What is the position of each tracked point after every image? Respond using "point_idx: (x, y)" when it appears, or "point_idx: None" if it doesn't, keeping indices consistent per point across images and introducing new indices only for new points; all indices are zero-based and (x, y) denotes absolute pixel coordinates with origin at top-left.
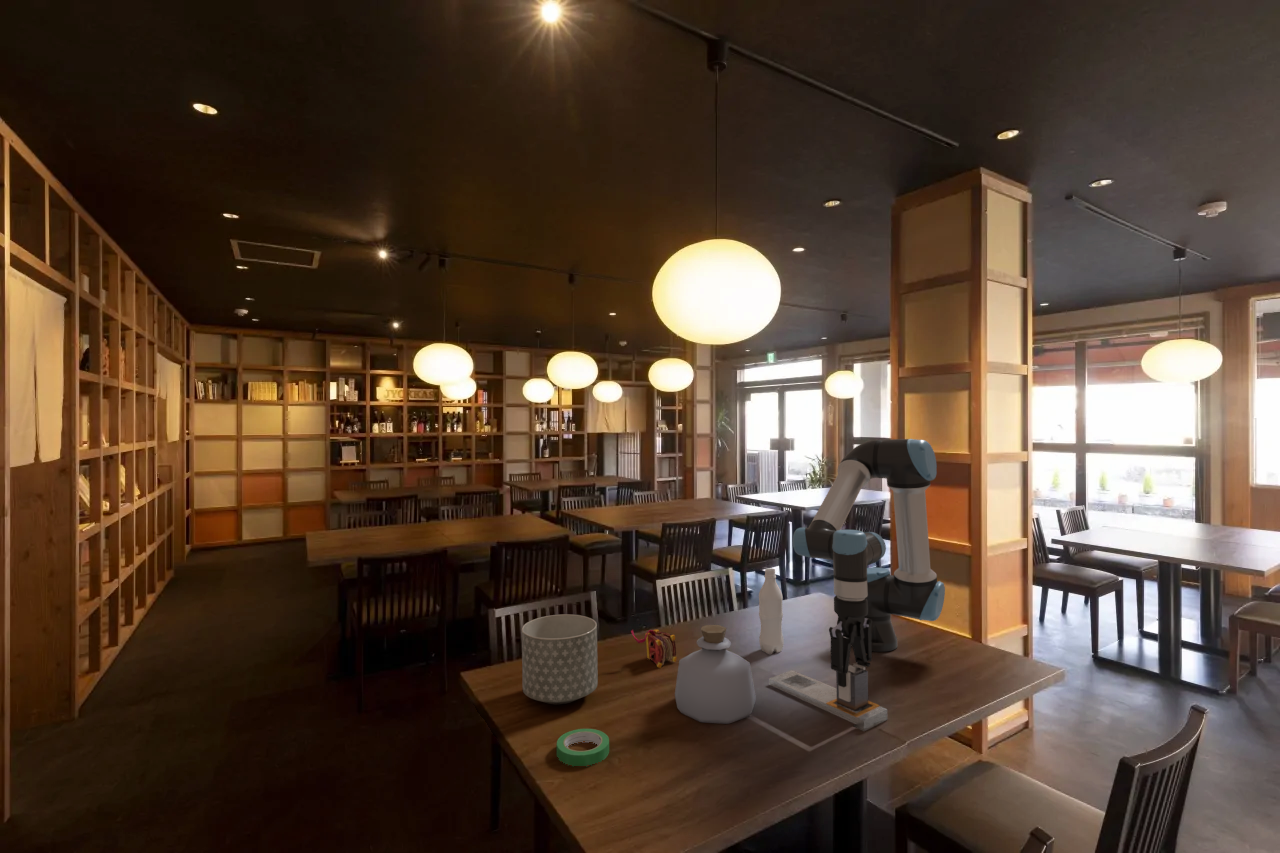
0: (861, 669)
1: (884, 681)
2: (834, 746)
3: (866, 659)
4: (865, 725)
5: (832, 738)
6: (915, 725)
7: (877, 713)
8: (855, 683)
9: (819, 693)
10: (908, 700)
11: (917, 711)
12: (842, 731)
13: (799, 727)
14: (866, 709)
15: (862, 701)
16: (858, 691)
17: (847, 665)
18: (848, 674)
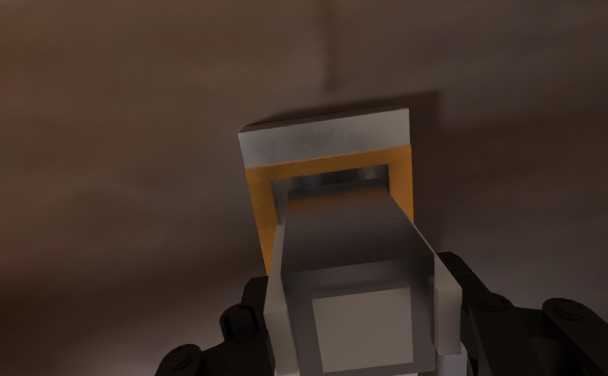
0: (316, 299)
1: (34, 328)
2: (574, 78)
3: (231, 359)
4: (391, 107)
5: (529, 123)
6: (177, 37)
7: (306, 126)
8: (409, 230)
9: None
10: (51, 195)
11: (81, 116)
12: (458, 142)
13: (549, 228)
14: (325, 167)
15: (331, 193)
16: (368, 212)
17: (497, 335)
18: (458, 284)
